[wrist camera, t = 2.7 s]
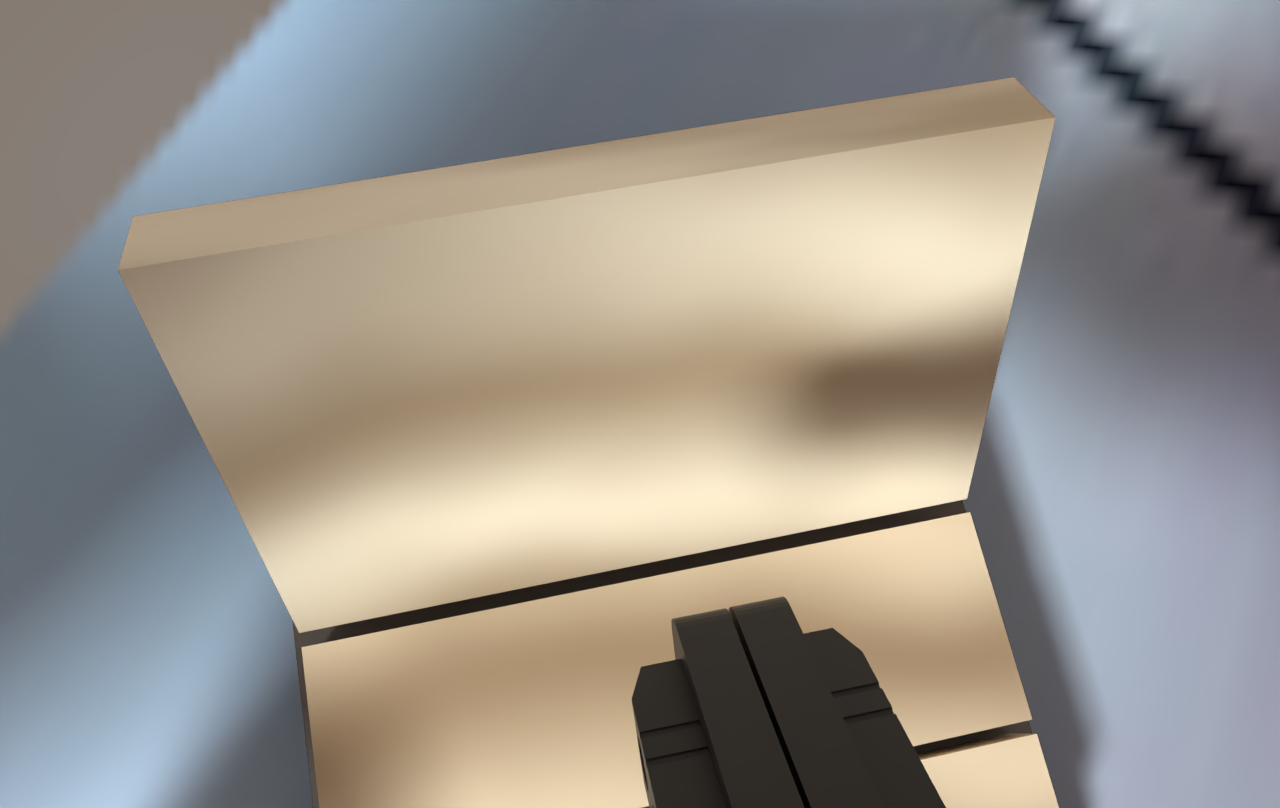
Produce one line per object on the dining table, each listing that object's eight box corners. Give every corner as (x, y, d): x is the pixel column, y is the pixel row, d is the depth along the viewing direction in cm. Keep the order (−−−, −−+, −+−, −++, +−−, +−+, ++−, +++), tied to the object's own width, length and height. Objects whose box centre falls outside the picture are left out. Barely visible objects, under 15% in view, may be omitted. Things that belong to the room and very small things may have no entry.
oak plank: (940, 452, 25) (966, 499, 24) (301, 577, 23) (299, 633, 22) (1014, 77, 18) (1055, 117, 17) (132, 216, 17) (117, 269, 16)
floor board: (1041, 931, 25) (1133, 972, 21) (379, 1095, 24) (333, 1177, 19) (831, 201, 31) (870, 117, 27) (284, 293, 29) (232, 219, 25)
